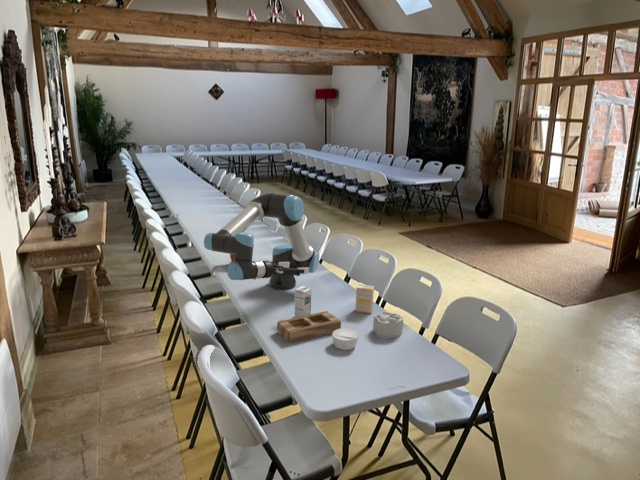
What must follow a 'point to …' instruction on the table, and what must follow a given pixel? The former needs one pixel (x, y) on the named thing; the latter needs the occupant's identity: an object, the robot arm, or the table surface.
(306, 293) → the syrup box
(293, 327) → the wooden divided tray
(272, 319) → the table surface
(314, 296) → the table surface
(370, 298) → the supplement box
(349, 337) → the ramekin
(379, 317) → the lumpy-topped squat cylinder
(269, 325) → the table surface
